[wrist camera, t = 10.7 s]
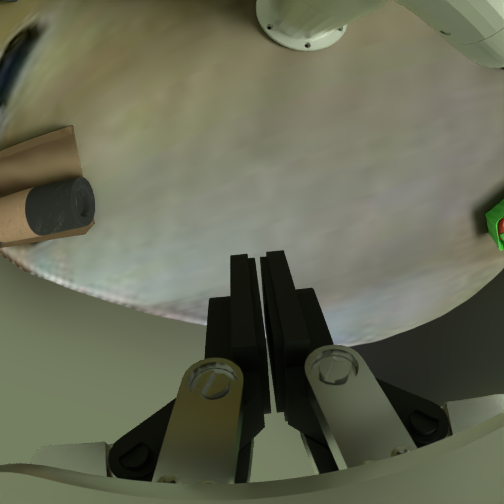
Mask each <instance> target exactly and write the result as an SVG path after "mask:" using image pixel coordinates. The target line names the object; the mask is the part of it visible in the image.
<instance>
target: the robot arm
mask: <svg viewBox="0 0 504 504" xmlns="http://www.w3.org/2000/svg"><path fill="white" fill-rule="evenodd" d="M386 1H387V0H256V7H255V8H256V16H257V19H258V22H259V24H260V26H261V27H262V29H263V30H264V31H265V33H266V34H267V35H268V36H269V37H270V38H271V39H273V40H274V41H275V42H277V43H279V44H280V45H282V46H284V47H287V48H289V49H293V50H297V51H308V52H309V51H317V50H321V49H324V48H327V47H329V46H331V45H332V44H334V43H335V42H337V41H338V40H339V39H340V38H341V37H342V36H343V34H344V33H345V31H346V28H347V25H348V24H349V23H351V22H353V21H355V20H357V19H359V18H361V17H363V16H365V15H367V14H369V13H372V12H374V11H375V10H377V9H379V8H380V7H381V6H383V5H384V4H385V2H386ZM394 1H396V2H397V3H399V4H400V5H403V6H405V7H406V8H407V9H409V10H410V11H411V12H413V13H414V14H415V15H417V16H418V17H419V18H420V19H422V20H423V21H424V22H426V23H427V24H428V25H429V26H430V27H432V28H433V29H434V30H435V31H436V32H438V33H439V34H440V35H441V36H442V37H443V38H445V39H446V40H447V41H448V42H449V43H450V44H451V45H452V46H454V47H455V48H456V49H457V50H458V51H459V52H461V53H462V54H463V55H464V56H466V57H467V58H468V59H470V60H471V61H473V62H475V63H477V64H479V65H481V66H485V67H489V68H502V67H504V0H394ZM267 27H271V29H270V30H269V29H267ZM337 29H340V31H338V30H337ZM305 45H308V47H307V48H306V47H305ZM260 264H261V277H262V290H263V304H264V317H265V328H266V336H267V343H268V350H269V358H270V365H271V373H272V379H273V387H274V395H275V402H276V409H277V413H278V412H284V416H285V421H288V424H289V425H290V426H292V427H294V428H295V429H297V430H299V431H300V435H301V439H302V441H303V444H304V447H305V449H306V452H307V455H308V458H309V460H310V463H311V465H312V468H313V470H314V473H315V475H313V476H306V477H299V478H292V479H285V480H276V481H266V482H254V483H250V476H251V467H252V458H253V448H254V437H255V436H256V435H257V434H258V433H259V432H260V431H261V430H262V429H263V428H264V427H265V425H264V424H265V423H264V414H269V413H271V405H270V390H269V376H268V362H267V349H266V339H265V331H264V324H263V316H262V309H261V301H260V293H259V286H258V278H257V271H256V263H255V258H248V254H241V255H231V256H230V290H231V296H227V297H216V298H210V299H209V306H208V318H207V332H206V345H205V359H204V360H200V361H198V362H197V363H195V364H193V365H192V366H191V367H190V368H189V369H188V370H187V371H186V372H185V374H184V376H183V378H182V381H181V385H180V387H179V391H178V394H177V397H176V398H175V399H174V400H172V401H171V402H170V403H168V404H167V405H166V406H164V407H163V408H162V409H160V410H159V411H157V412H156V413H155V414H153V415H152V416H151V417H149V418H148V419H146V420H145V421H144V422H142V423H141V424H140V425H138V426H137V427H135V428H134V429H132V430H131V431H130V432H128V433H127V434H125V435H124V436H123V437H121V438H120V439H119V440H117V441H116V442H115V443H114V444H107V443H106V442H95V443H82V444H65V445H48V446H43V447H41V448H40V449H38V450H37V451H36V452H35V453H34V455H33V456H32V459H31V463H30V464H26V463H25V464H24V463H16V464H4V465H0V504H504V394H496V395H491V396H485V397H479V398H474V399H467V400H460V401H452V402H446V404H445V405H444V406H438V405H437V404H435V403H433V402H431V401H429V400H426V399H424V398H421V397H419V396H417V395H414V394H412V393H410V392H407V391H405V390H402V389H400V388H398V387H395V386H393V385H391V384H388V383H386V382H384V381H381V380H379V379H377V378H375V377H374V376H373V374H372V373H371V371H370V369H369V368H368V366H367V365H366V363H365V361H364V360H363V358H362V357H361V356H360V355H359V354H358V353H357V352H356V351H354V350H353V349H351V348H349V347H346V346H342V345H334V344H333V341H332V338H331V335H330V332H329V330H328V327H327V324H326V321H325V319H324V316H323V313H322V310H321V308H320V305H319V302H318V299H317V297H316V294H315V291H314V289H313V288H305V289H296V290H295V286H294V283H293V280H292V276H291V273H290V270H289V266H288V263H287V260H286V256H285V253H284V250H282V251H272V252H266V257H260Z"/></svg>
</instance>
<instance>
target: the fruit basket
mask: <svg viewBox="0 0 504 504" xmlns="http://www.w3.org/2000/svg"><path fill="white" fill-rule="evenodd" d="M485 216H486V221H487V226H488V229H489V230H488V232H489V234H490V235H491V237H492V238H493V240H494V241H495V243H496V244H497V247H498V248H499V250H503V249H504V199H503V200H502V201H501V202H500V203H499V204H497V205H496V206H495V207H493V208H492V210H490V211H488V212H487V213H486V214H485Z"/></svg>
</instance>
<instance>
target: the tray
mask: <svg viewBox="0 0 504 504" xmlns="http://www.w3.org/2000/svg"><path fill="white" fill-rule="evenodd" d="M77 177H83V175H82V170H81V166H80V161H79V156H78V151H77V146H76V141H75V135H74V129H73V126H69V127H66V128H63V129H60V130H57V131H53V132H50V133H47V134H44V135H42V136H39V137H36V138H33V139H30V140H27V141H25V142H22V143H19V144H17V145H14V146H12V147H9V148H7V149H4V150H2V151H0V198H1V197H4V196H7V195H10V194H13V193H16V192H19V191H23V190H26V189H29V188H32V187H36V186H40V185H44V184H48V183H53V182H57V181H62V180H67V179H72V178H77ZM94 224H95V222H94V219H93V220H92V222H91V224H90V225H88V226H85V227H81V228H77V229H72V230H67V231H63V232H58V233H53V234H49V235H45V236H39V237H33V238H28V239H22V240H16V241H11V242H5V243H0V248H3V247H9V246H14V245H20V244H26V243H32V242H38V241H45V240H51V239H57V238H64V237H70V236H77V235H84V234H86V233H87V232H88V230H89V229H90V228H91V227H92V226H93V225H94Z"/></svg>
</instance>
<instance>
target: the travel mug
mask: <svg viewBox="0 0 504 504" xmlns="http://www.w3.org/2000/svg"><path fill="white" fill-rule="evenodd" d="M94 213H95V200H94V194H93V190H92V188H91V185H90V184H89V182H88V181H87V180H86V179H85V178H83V177H77V178H72V179H67V180H62V181H57V182H53V183H48V184H44V185H40V186H36V187H32V188H29V189H26V190H23V191H19V192H16V193H13V194H10V195H7V196H4V197H1V198H0V243H5V242H11V241H16V240H22V239H28V238H33V237H39V236H45V235H49V234H53V233H58V232H63V231H67V230H72V229H77V228H81V227H85V226H88V225H90V224H91V222H92V220H93V218H94Z"/></svg>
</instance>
